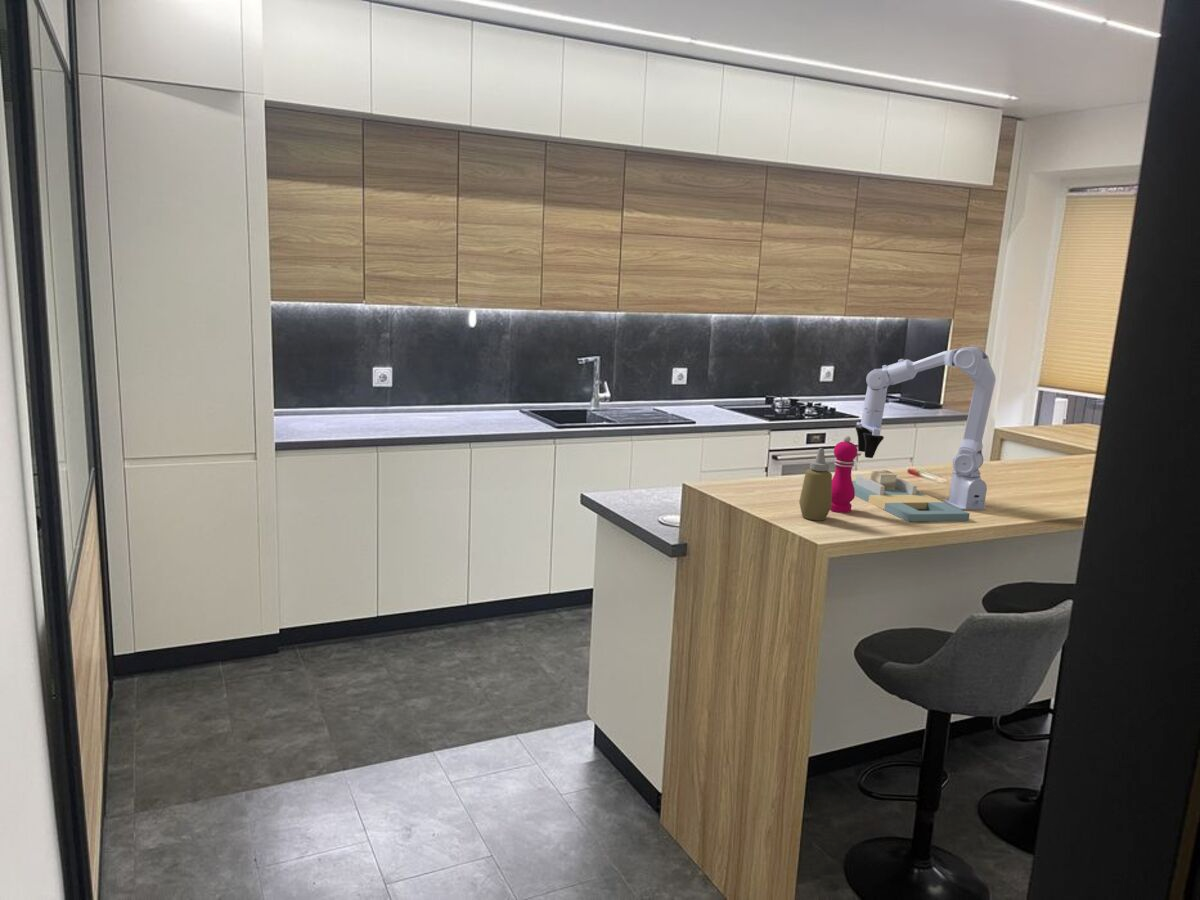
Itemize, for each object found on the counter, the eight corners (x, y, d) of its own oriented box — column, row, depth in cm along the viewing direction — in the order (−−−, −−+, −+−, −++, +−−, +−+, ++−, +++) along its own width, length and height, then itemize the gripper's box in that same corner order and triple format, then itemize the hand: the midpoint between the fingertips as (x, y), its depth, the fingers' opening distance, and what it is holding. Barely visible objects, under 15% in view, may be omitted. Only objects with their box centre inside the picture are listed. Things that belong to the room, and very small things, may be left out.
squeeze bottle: (791, 516, 221) (798, 447, 218) (808, 511, 227) (816, 444, 223) (819, 524, 216) (827, 453, 212) (836, 519, 221) (844, 450, 218)
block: (894, 489, 248) (896, 474, 247) (879, 489, 247) (881, 474, 246) (885, 485, 253) (886, 470, 252) (869, 485, 252) (871, 470, 251)
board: (968, 520, 227) (971, 504, 226) (907, 521, 223) (910, 505, 222) (893, 487, 260) (895, 472, 259) (839, 487, 256) (841, 472, 255)
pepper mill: (833, 513, 226) (842, 438, 222) (819, 506, 233) (828, 433, 229) (858, 513, 228) (867, 438, 224) (843, 505, 235) (852, 433, 231)
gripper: (853, 403, 261) (846, 447, 264) (866, 412, 247) (857, 458, 250) (877, 406, 261) (869, 449, 264) (890, 415, 247) (882, 461, 250)
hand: (865, 454), depth 257 cm, fingers open, 7 cm apart
